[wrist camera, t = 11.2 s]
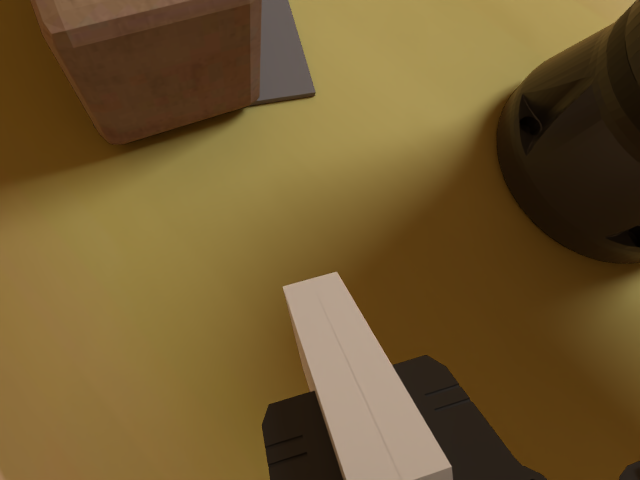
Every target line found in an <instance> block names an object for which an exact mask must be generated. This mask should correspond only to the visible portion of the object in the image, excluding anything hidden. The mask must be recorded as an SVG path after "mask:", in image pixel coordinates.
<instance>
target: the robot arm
mask: <svg viewBox="0 0 640 480" xmlns="http://www.w3.org/2000/svg"><path fill="white" fill-rule="evenodd" d="M497 150H498V157H499V162H500V166H501V169H502V172H503V175H504V178H505V180H506V182H507V185H508V187H509V189H510V191H511V192H512V194H513V196H514V198H515V199H516V201H517V202H518V204H519V205H520V207H521V208H522V209H523V210H524V212H525V213H526V214H527V215H528V216H529V217H530V219H531V220H532V221H533V222H534V223H535V224H536V225H537V226H538V227H539V228H541V229H542V230H543V231H544V232H545V233H546V234H548V235H549V236H550V237H552V238H553V239H554V240H556V241H557V242H559V243H560V244H562V245H564V246H565V247H567V248H569V249H571V250H573V251H575V252H577V253H579V254H582V255H584V256H587V257H590V258H593V259H597V260H601V261H605V262H612V263H638V262H640V0H636V1H635V2H634V3H633V5H632V6H631V7H630V8H629V9H628V10H627V11H626V12H625V13H624V14H623V15H622V16H621V17H620V18H619V19H618V20H617V21H616V22H615V23H613V24H611V25H609V26H608V27H606V28H604V29H602V30H600V31H599V32H597V33H595V34H593V35H591V36H590V37H588V38H586V39H584V40H582V41H580V42H579V43H577V44H575V45H573V46H571V47H570V48H568V49H566V50H564V51H562V52H561V53H559V54H557V55H555V56H553V57H551V58H550V59H548V60H546V61H545V62H543V63H542V64H541V65H539V66H538V67H537V68H536V69H534V70H533V71H532V72H531V73H530V74H529V75H528V76H527V77H526V79H525V80H524V81H523V82H522V83H521V84H520V86H519V87H518V88H517V89H516V90H515V92H514V93H513V94H512V95H511V96H510V98H509V99H508V101H507V103H506V104H505V106H504V109H503V111H502V113H501V116H500V120H499V124H498V131H497ZM283 290H284V294H285V298H286V302H287V306H288V310H289V315H290V319H291V323H292V327H293V331H294V335H295V339H296V343H297V347H298V351H299V355H300V359H301V363H302V367H303V371H304V374H305V377H306V380H307V383H308V387H309V390H310V392H308V393H305V394H302V395H298V396H295V397H292V398H289V399H285V400H282V401H279V402H276V403H272V404H269V405H268V408H267V411H266V414H265V417H264V420H263V423H262V430H263V436H264V443H265V448H266V455H267V462H268V467H269V475H270V480H547V479H546V478H545V477H544V476H543V475H542V474H540V473H538V472H535V471H533V470H531V469H529V468H527V467H525V466H522V465H521V464H520V463H519V462H518V461H517V460H516V459H515V457H514V456H513V455H512V454H511V452H510V451H509V450H508V448H507V447H506V446H505V444H504V443H503V442H502V440H501V439H500V438H499V436H498V435H497V434H496V433H495V431H494V430H493V429H492V427H491V426H490V425H489V423H488V422H487V421H486V419H485V418H484V417H483V415H482V414H481V413H480V411H479V410H478V409H477V407H476V406H475V405H474V403H473V402H471V401H470V398H469V397H468V395H467V394H466V393H465V391H464V390H463V389H462V387H460V386H459V383H458V382H457V381H456V379H455V378H454V377H453V375H452V374H451V373H450V371H449V370H448V369H447V367H446V366H444V365H442V364H441V363H439V362H437V361H436V360H434V359H432V358H431V357H429V356H427V355H424V356H421V357H418V358H414V359H411V360H408V361H405V362H401V363H398V364H395V365H392V364H391V363H390V361H389V359H388V358H387V356H386V354H385V352H384V351H383V349H382V347H381V346H380V344H379V342H378V341H377V339H376V337H375V335H374V334H373V332H372V330H371V329H370V327H369V325H368V324H367V322H366V320H365V318H364V317H363V315H362V313H361V312H360V310H359V308H358V307H357V305H356V303H355V301H354V300H353V298H352V296H351V295H350V293H349V291H348V290H347V288H346V286H345V285H344V283H343V281H342V279H341V278H340V276H339V274H338V273H337V272H333V273H330V274H326V275H322V276H319V277H315V278H312V279H308V280H304V281H301V282H297V283H293V284H290V285H286V286H283ZM619 480H640V461H638V462H636V463H633V464H631V465H628V466H627V467H626V469H625V470H624V471H623V473H622V474H621V475H620V477H619Z"/></svg>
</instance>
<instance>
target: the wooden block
mask: <svg viewBox="0 0 640 480" xmlns="http://www.w3.org/2000/svg"><path fill="white" fill-rule="evenodd" d="M30 1H31V4H32V7H33V9H34V12H35V15H36V18H37V21H38V24H39V26H40V29H41V32H42V35H43V37H44V39H45V40H46V42H47V44H48V46H49V47H50V49H51V51H52V53H53V54H54V56H55V58H56V59H57V61H58V63H59V65H60V66H61V68H62V70H63V72H64V73H65V75H66V77H67V79H68V80H69V82H70V84H71V86H72V87H73V89H74V91H75V92H76V94H77V96H78V98H79V99H80V101H81V103H82V105H83V106H84V108H85V110H86V112H87V113H88V115H89V117H90V119H91V120H92V122H93V124H94V125H95V127H96V129H97V131H98V132H99V134H100V135H101V136H102V137H103V138H104V139H105V140H106V141H107V142H109V143H111V144H126V143H129V142H132V141H136V140H139V139H142V138H145V137H149V136H152V135H155V134H158V133H162V132H165V131H168V130H171V129H175V128H178V127H181V126H184V125H188V124H191V123H194V122H198V121H201V120H204V119H207V118H211V117H214V116H217V115H220V114H224V113H227V112H230V111H233V110H237V109H240V108H243V107H246V106H249V105H251V104H252V103H254V102H255V101H256V100H257V99H258V98H259V96H260V55H261V12H262V0H30Z"/></svg>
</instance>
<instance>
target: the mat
mask: <svg viewBox="0 0 640 480" xmlns="http://www.w3.org/2000/svg"><path fill="white" fill-rule="evenodd" d="M310 96H315V89H314V86H313V82H312V79H311V76H310V72H309V69H308V66H307V62H306V59H305V55H304V52H303V49H302V45H301V42H300V39H299V35H298V32H297V29H296V25H295V22H294V19H293V15H292V12H291V9H290V5H289V2H288V0H262V12H261V55H260V96H259V98H258V99H257V100H256V101H255V102H254V103H252V104H251V105H257V104H264V103H270V102H277V101H284V100H290V99H297V98H304V97H310ZM249 106H250V105H249ZM93 125H94V124H93ZM94 127H95V125H94ZM95 128H96V127H95Z"/></svg>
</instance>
